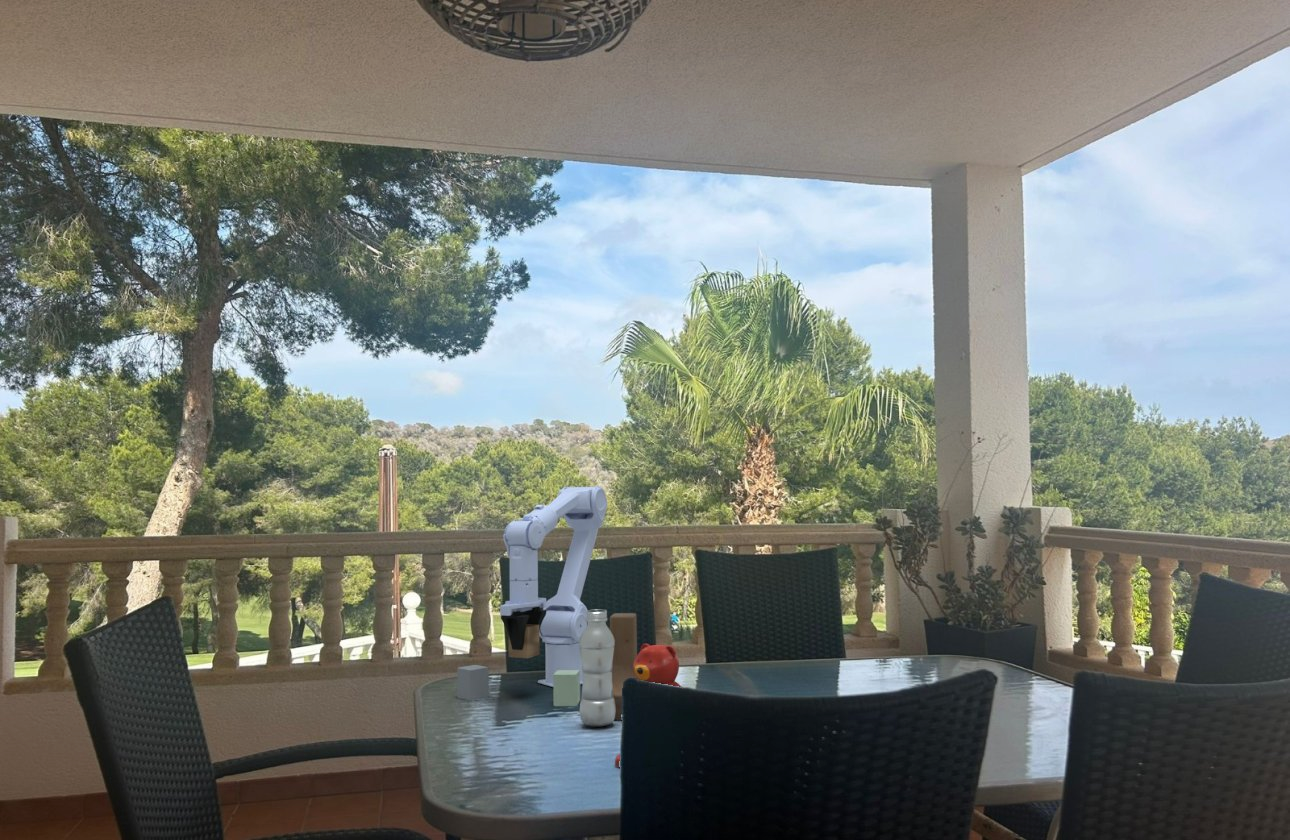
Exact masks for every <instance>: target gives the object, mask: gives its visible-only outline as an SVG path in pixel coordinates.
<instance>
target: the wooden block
mask: <svg viewBox="0 0 1290 840" xmlns="http://www.w3.org/2000/svg"><path fill="white" fill-rule="evenodd" d="M637 625H638V624H637V613H636V612H635V613H634V612H626V613H625V612H623V613H622V612H616V613H613V614H611V615H610V617H609V629H610V631H611V632H612V634H613V636H614V640H615V645H614V654H613V663H612V684H613V695H614V696H613V697H614V700H615V705H616V714H615V719H614V721H622V720H621V714H622V688H623V682H624V681H625V680H626V679H628V678H636V676H635V673H634V670H633V664H634V661H635V659H636V657H637V655H638V640H637V639H638V636H637V635H638V633H637V632H638V631H637V627H638V626H637Z"/></svg>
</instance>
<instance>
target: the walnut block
mask: <svg viewBox="0 0 1290 840" xmlns="http://www.w3.org/2000/svg"><path fill="white" fill-rule="evenodd" d="M539 655H540V636H539V625H533V624H526V628H525V634H524V645H523V649H522V650H512V646H511V642H510V638H509V637H508V658H517V659H519V658H521V659H530V658H533V657H536V656H539Z"/></svg>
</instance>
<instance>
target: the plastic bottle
mask: <svg viewBox="0 0 1290 840" xmlns="http://www.w3.org/2000/svg"><path fill="white" fill-rule="evenodd" d="M587 610H588V609H587ZM607 613H608V611H607V609H589V610H588V611H587V618H586V622H587V626H586V628H585V629H584V631H583V633H582V634H581V636H580V640H579V647H580V654H581V661H582V671H583V674H582V675H583V684H581V685H582V687H581V698H580V702H579V703H580V704H579V717H580V721H581V722H582V724H583V725H585V726H589V727H595V728H600V727H605V726H608V725H611V724H613V723H614V721H615V720H614V719H615V714H616V705H615V700H614V697H613V696H614V695H613V684H612V663H613V654H614V645H615V640H614V636H613V634H612V632H611V631H610V627H609V626H608V625H607V623H606V622H608V614H607Z"/></svg>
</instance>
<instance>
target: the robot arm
mask: <svg viewBox="0 0 1290 840" xmlns="http://www.w3.org/2000/svg"><path fill="white" fill-rule="evenodd" d="M607 507H608V500H607V495H606V491H605V489H604V488H603V487H602V486H601V485H596V486H564V487H562V488H561V489H559V490H558V494H557V497H556V498H554V499H553V500H552V501H551V502H550V503H549V504H548V505H544V504H537V505H535V506H534V509H533V510H531V512H529V513H528V514H524V515H523V517H522V518H520V520H512V521H511V522H510V523H508V524H507V525H506V526H505V529H504V532H503V535H502V536H503V537H502V538H503V543H504V545H505V548H506V555H507V557H508V558H509V600H506V601H505V603H504V604H502V605H500V606H499V607H500V608H499V612H500V615H499V616H500V619H501V621H502V622H503V625H504V627H505V629H506V631H507V634H508V639H509V638H510V642H511V646H512V650H522V649H523V645H524V634H525V628H526V624H533V625H539V638H541V639H542V641H541V642H542V643H545V645H544V647H545V648H544V649H545V650H544V651H545V653H544V654H545V679H539V680H537V683H538V684H542V685H543V686H544V685H545V686H548V687H552V688H553V674H554V673H555V672H556V671H557V670H580V685H582V684H583V675H582V674H583V671H582V661H581V654H580V647H579V640H580V636H581V634H582V633H583V631H584V629H585V628H586V626H587V625H588V622H586V618H587V611H588V608H587V606H586V605H585V604H584V603H583V602H582V601H581V597H582V594H583V590H584V585H585V581H586V578H587V575H588V570H589V567H590V563H591V559H592V555H593V551H594V549H595V544H596V540H597V536H598V532H599V528H600V527H602V526H603V522H604V520H605V515H606V511H607ZM561 517H563V518H564V520H565V523H566V524H567V526H568V527H569V528H571V529H572V530H573V534H572V539H571V542H570V546H569V549H568V553H567V556H566V560H565V563H564V567H563V571H562V574H561V578H560V580H559V581H560V582H559V586H558V588H557V589H558V590H557V591H556V594H555V595H554V596H553V597H550V598H549V599H548V600H547V598H546V597H539V578H538V577H539V563H538V562H539V559H538V558H539V557H538V556H539V555H538V550H539V549H540V548H541V547H542V545H543V542H544V539H545V538H546V536H547V535H548V534H549V533H550V532H551V531H553V530H554V529H555V528H556V527H557V525H558V521H559V519H560V518H561Z"/></svg>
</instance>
